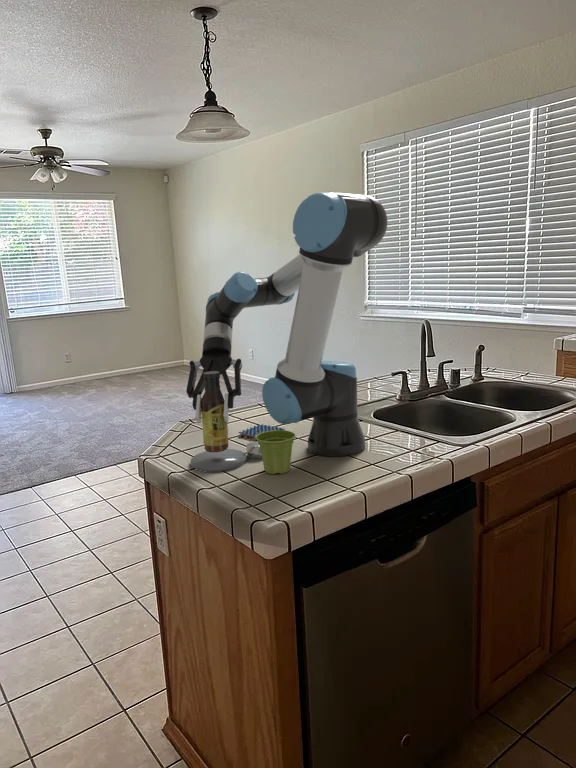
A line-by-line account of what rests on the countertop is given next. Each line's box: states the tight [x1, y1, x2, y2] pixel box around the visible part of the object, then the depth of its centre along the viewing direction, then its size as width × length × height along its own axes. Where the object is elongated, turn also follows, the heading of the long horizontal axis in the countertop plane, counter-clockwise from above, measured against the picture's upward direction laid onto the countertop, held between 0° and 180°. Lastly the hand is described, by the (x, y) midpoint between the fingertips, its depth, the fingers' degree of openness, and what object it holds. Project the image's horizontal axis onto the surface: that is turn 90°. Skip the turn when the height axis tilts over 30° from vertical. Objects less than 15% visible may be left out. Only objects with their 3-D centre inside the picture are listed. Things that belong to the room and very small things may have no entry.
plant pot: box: [255, 429, 296, 475], centre depth 135 cm, size 9×9×9 cm
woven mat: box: [238, 423, 285, 441], centre depth 164 cm, size 10×11×2 cm
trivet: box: [190, 448, 247, 473], centre depth 143 cm, size 14×14×1 cm
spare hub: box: [245, 440, 262, 460], centre depth 147 cm, size 6×6×3 cm
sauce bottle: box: [201, 371, 229, 452], centre depth 141 cm, size 7×6×20 cm
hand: (211, 419), depth 137 cm, fingers closed on sauce bottle, 6 cm apart
